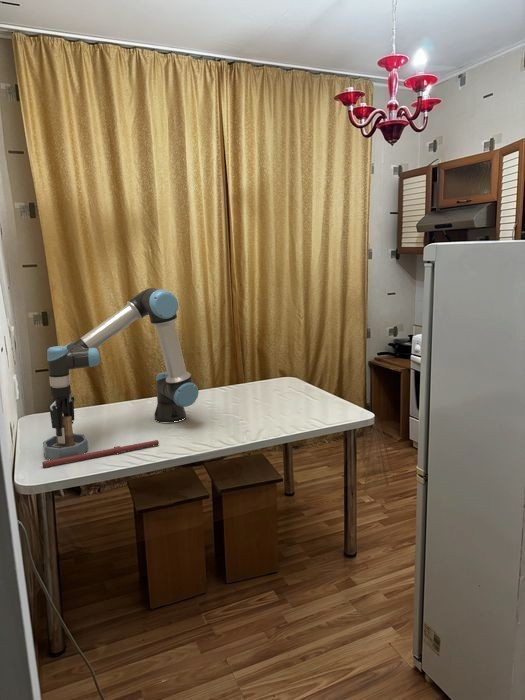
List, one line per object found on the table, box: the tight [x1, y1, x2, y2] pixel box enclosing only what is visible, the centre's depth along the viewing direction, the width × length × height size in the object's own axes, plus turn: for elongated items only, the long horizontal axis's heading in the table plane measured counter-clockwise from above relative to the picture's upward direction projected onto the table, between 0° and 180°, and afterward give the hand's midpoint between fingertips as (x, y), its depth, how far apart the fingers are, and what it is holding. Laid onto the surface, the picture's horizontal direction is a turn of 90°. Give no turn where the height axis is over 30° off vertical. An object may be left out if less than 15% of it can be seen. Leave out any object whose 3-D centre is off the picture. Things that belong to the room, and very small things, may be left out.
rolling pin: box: [41, 439, 160, 468], centre depth 204 cm, size 45×3×3 cm, turn 118°
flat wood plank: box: [55, 416, 74, 447], centre depth 206 cm, size 6×2×14 cm, turn 75°
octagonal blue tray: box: [42, 433, 89, 460], centre depth 207 cm, size 16×16×5 cm
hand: (65, 441), depth 207 cm, fingers open, 4 cm apart
